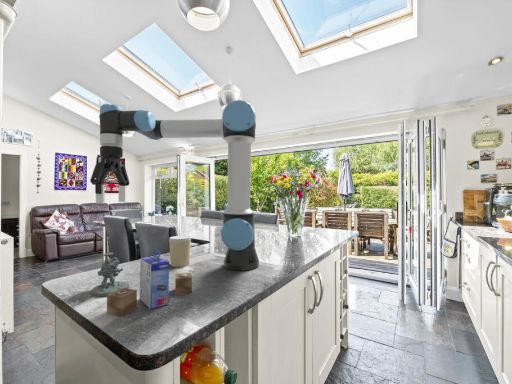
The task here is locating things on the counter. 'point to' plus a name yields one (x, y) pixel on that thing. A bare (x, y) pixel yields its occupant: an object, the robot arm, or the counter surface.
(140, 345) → the counter surface
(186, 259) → the coffee cup
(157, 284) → the ink cartridge box
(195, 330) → the counter surface
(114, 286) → the figurine
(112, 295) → the walnut cube
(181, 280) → the walnut cube
